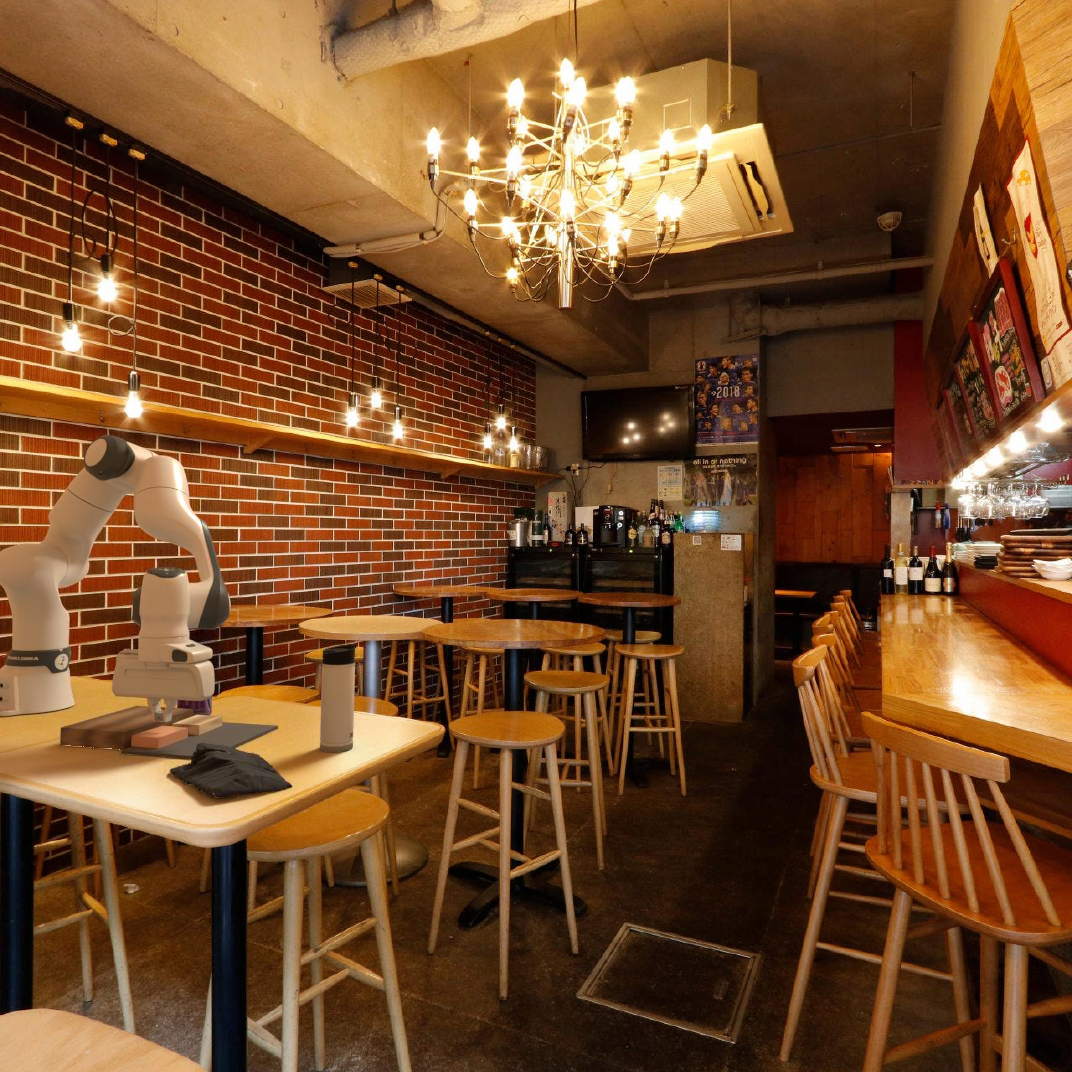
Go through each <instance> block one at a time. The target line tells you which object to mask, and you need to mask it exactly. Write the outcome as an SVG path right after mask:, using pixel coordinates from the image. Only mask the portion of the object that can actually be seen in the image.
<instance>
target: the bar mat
mask: <svg viewBox="0 0 1072 1072" xmlns="http://www.w3.org/2000/svg"><path fill="white" fill-rule="evenodd" d="M278 729H279V725H274V724H261V723H260V724H259V723H244V722H243V723H241V722H227V721H222V726H220V727H218V728H215V729H213V730H210V731H208V732H205V733H203V734H200V735H190V734H188V738H186V739H183V740H180V741H178V742H175V743H172V744H169V745H166V746H164V747H161V748H147V747H136V746H132V747H129V748H127V749H124V750H120V754H121V755H129V754H131V756H142V757H143V756H145V757H146V756H147V757H157V758H170V759H171V758H172V759H183V760H191V758H192V756H193V753H194V752H195V751H196V747H197V744H199V743H207V744H214V745H223V746H228V747H232V748H235V749H237V748H238V747H240V746H243V745H245V744H247V743H249V742H252V741H253V740H256V739H258V738H260V737H262V735H263V736H264V735H267V734H268V732H269V733H271V732H274V731H276V730H278Z"/></svg>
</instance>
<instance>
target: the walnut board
mask: <svg viewBox="0 0 1072 1072" xmlns="http://www.w3.org/2000/svg"><path fill="white" fill-rule="evenodd" d="M165 707H166V706H165ZM165 707H164V706H163V707H162V706H160V708H161V710H162V711H164V709H165ZM192 716H193V709H182V708H177V707H175V708H174V710H173V711H172V719H171V721H168V722H158V721H153V720H152V712H151V710H150V708H149V706H148V705H147V706H146V705H134V706H131V707H127V708H123V709H120V710H116V711H113V712H110V713H107V714H102V715H99V716H96V717H93V718H89V719H86V720H82V721H79V722H75V723H71V724H67V725H65V726H64V725H63V726H61V727H60V732H59V733H60V735H59V736H60V737H59V738H60V739H59V746H60V745H71V746H82V747H81V748H84V747H92V748H91V749H97V748H112V749H118V750H117V751H121V750H124V749H127V748H129V747H132V746H131V737H132V735H135V734H138V733H141V732H144V731H147V730H150V729H153V728H157V727H160V726H172V725H173V723H176V722H178V721H181V720H184V719H187V718H189V717H192ZM83 746H84V747H83ZM93 747H94V748H93ZM119 749H120V750H119Z"/></svg>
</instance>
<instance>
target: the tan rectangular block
mask: <svg viewBox="0 0 1072 1072" xmlns="http://www.w3.org/2000/svg"><path fill="white" fill-rule="evenodd" d="M222 722H223V716H222V715H195V716H192V717H189V718H187V719H184V720H181V721H178V722H176V723H173V725H172V726H173V727H185V728H188V734H190V735H200V734H203V733H205V732H208V731H210V730H213V729H215V728H218V727H220V726H222Z"/></svg>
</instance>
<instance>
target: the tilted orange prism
mask: <svg viewBox="0 0 1072 1072" xmlns="http://www.w3.org/2000/svg"><path fill="white" fill-rule="evenodd" d="M186 738H188V728H185V727H173V726H160V727H157V728H153V729H150V730H147V731H144V732H141V733H138V734H135V735H132V737H131V746H136V747H147V748H161V747H164V746H166V745H169V744H172V743H175V742H178V741H180V740H183V739H186Z"/></svg>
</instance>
